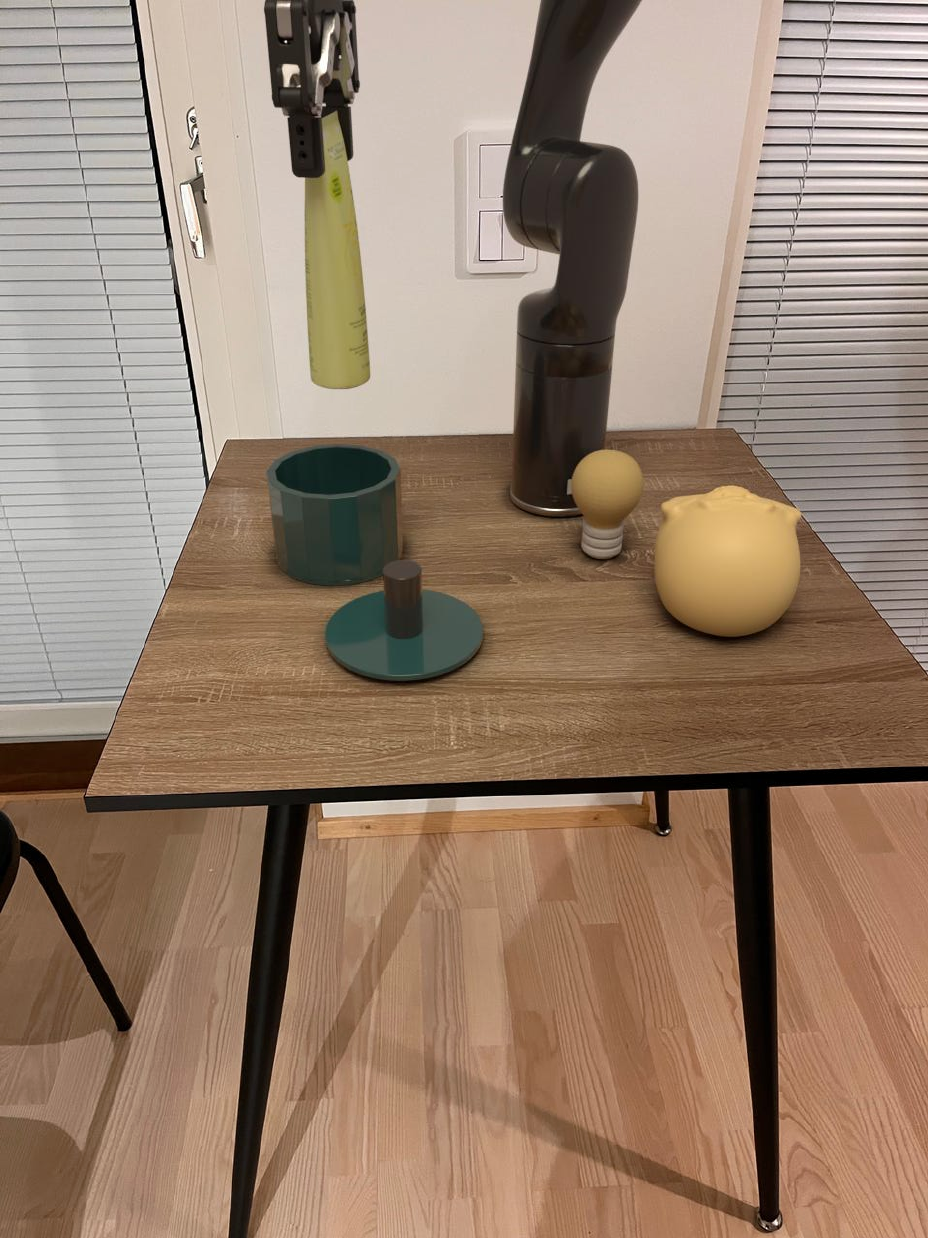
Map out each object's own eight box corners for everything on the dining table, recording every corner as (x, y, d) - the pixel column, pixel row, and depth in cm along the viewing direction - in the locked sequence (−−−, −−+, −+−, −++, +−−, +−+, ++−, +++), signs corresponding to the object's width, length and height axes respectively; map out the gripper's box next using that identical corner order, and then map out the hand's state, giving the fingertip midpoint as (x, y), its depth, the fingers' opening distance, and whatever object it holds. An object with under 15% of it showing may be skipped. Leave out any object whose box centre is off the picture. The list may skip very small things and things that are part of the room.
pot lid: (348, 593, 83) (343, 525, 79) (492, 605, 81) (493, 537, 78) (306, 678, 72) (298, 605, 69) (470, 695, 71) (471, 620, 67)
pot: (297, 521, 94) (289, 440, 90) (413, 529, 93) (410, 447, 88) (259, 580, 85) (248, 493, 80) (387, 590, 83) (383, 502, 79)
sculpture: (774, 580, 85) (798, 468, 79) (800, 658, 75) (829, 536, 69) (644, 573, 86) (658, 462, 80) (652, 648, 76) (669, 527, 70)
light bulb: (641, 542, 91) (652, 444, 85) (628, 574, 86) (639, 472, 80) (575, 532, 93) (582, 434, 87) (559, 563, 88) (565, 461, 82)
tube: (386, 385, 78) (374, 117, 67) (330, 397, 76) (308, 121, 65) (353, 366, 82) (337, 110, 71) (299, 377, 80) (274, 113, 69)
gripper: (333, -124, 55) (350, 185, 64) (386, -102, 67) (394, 156, 76) (208, -123, 56) (242, 182, 65) (282, -101, 68) (303, 154, 77)
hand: (324, 168), depth 70 cm, fingers closed on tube, 7 cm apart
